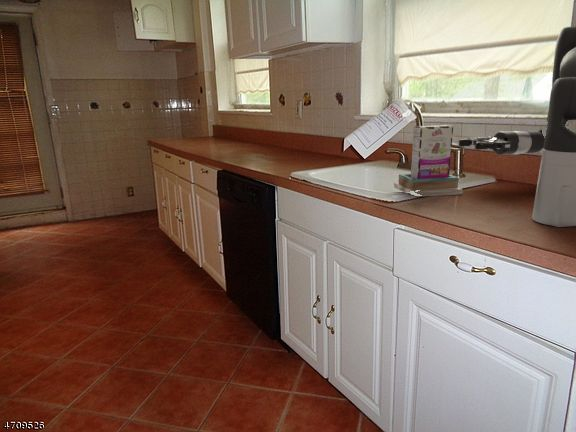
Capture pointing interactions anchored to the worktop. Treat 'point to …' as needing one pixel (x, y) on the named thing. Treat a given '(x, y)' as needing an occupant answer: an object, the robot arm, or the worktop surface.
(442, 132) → the candy bar box
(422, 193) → the foundation
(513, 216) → the worktop surface
